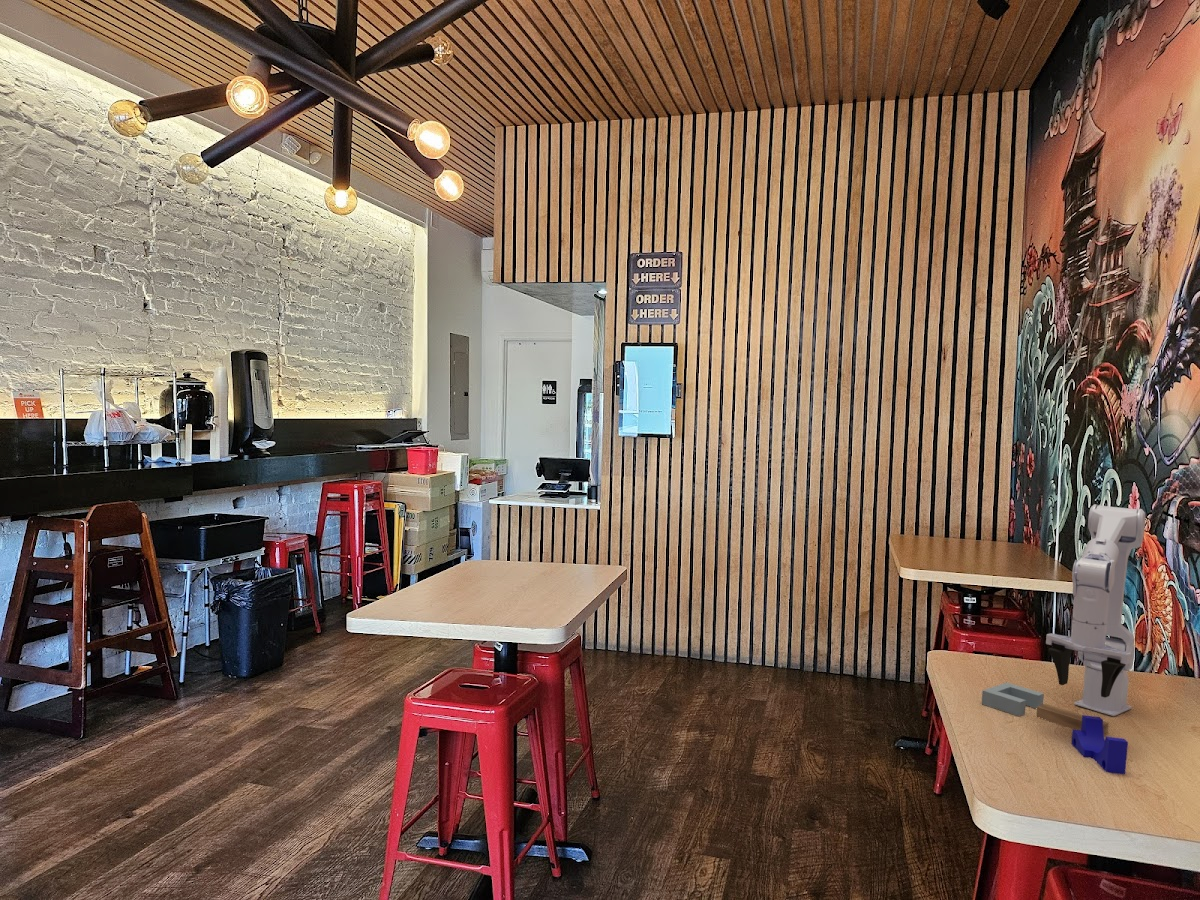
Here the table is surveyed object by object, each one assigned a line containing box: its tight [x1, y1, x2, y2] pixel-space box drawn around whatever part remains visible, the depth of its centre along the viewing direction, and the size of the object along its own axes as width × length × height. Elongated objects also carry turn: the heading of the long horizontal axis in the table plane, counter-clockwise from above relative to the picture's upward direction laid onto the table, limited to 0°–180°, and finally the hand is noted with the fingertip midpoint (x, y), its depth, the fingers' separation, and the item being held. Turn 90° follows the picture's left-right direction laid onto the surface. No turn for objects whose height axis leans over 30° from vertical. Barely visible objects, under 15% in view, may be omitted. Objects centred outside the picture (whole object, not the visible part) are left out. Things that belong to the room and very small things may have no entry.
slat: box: [1035, 703, 1110, 736], centre depth 165 cm, size 4×12×2 cm, turn 38°
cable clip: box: [1071, 714, 1129, 775], centre depth 149 cm, size 12×4×6 cm, turn 169°
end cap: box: [981, 682, 1045, 717], centre depth 175 cm, size 11×8×3 cm
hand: (1083, 690), depth 157 cm, fingers open, 7 cm apart
